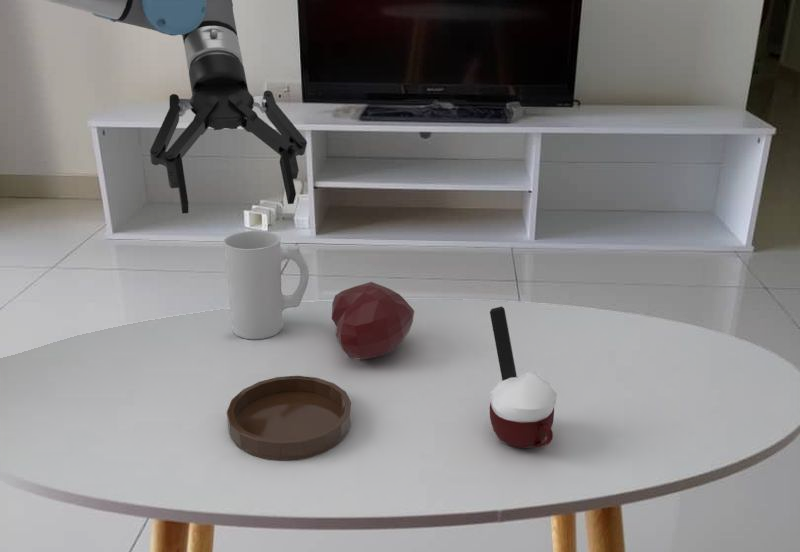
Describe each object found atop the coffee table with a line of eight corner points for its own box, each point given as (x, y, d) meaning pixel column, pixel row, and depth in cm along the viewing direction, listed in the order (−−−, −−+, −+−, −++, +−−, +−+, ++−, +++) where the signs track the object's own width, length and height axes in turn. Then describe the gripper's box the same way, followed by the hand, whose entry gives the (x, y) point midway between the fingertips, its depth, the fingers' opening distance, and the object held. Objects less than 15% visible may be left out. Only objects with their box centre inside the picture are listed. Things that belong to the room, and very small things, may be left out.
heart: (407, 316, 97) (332, 331, 96) (401, 262, 94) (323, 277, 93) (428, 363, 86) (344, 380, 85) (422, 304, 83) (334, 321, 82)
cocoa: (561, 463, 70) (575, 350, 66) (495, 465, 70) (504, 352, 65) (537, 408, 79) (548, 305, 74) (478, 409, 79) (485, 306, 74)
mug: (229, 342, 91) (222, 250, 87) (230, 318, 98) (224, 231, 93) (312, 337, 93) (309, 246, 89) (308, 314, 99) (305, 228, 95)
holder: (238, 471, 68) (237, 453, 68) (221, 402, 79) (220, 385, 78) (366, 447, 72) (366, 429, 71) (333, 383, 83) (333, 368, 82)
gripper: (118, 53, 96) (135, 197, 89) (308, 48, 104) (338, 181, 97) (122, 88, 103) (139, 226, 96) (301, 82, 111) (329, 208, 104)
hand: (239, 203), depth 96 cm, fingers open, 13 cm apart
